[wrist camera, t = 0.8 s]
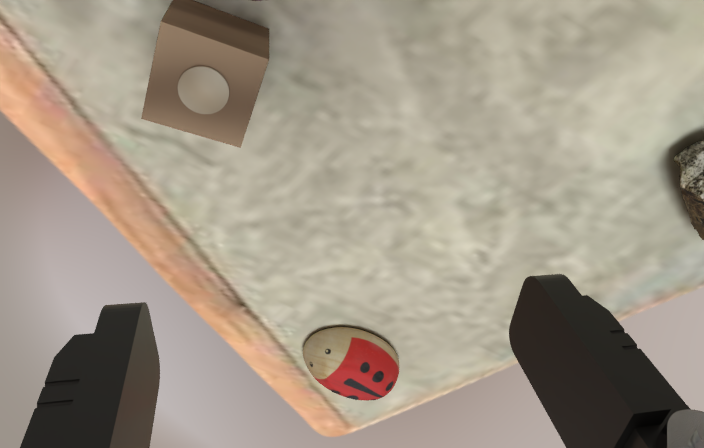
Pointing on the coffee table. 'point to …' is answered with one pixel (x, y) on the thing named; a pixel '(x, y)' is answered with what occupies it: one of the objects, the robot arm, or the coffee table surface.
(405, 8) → the coffee table surface
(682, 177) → the rock sample
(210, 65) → the walnut dotted block
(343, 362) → the ladybug figurine
